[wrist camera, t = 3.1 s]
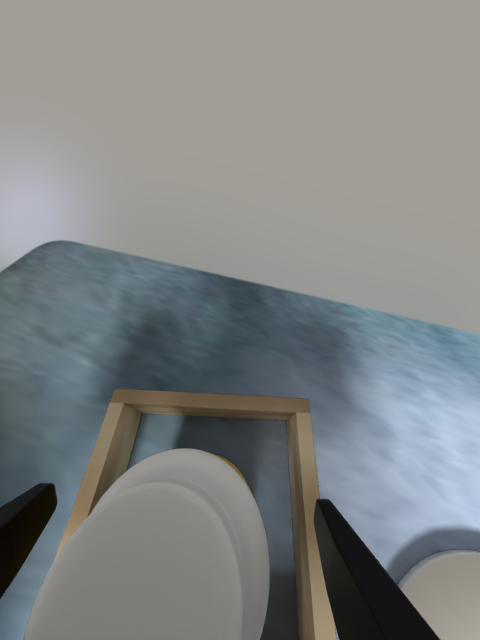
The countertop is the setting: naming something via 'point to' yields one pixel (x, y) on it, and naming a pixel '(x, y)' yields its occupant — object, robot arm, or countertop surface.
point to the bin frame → (130, 404)
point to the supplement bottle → (162, 559)
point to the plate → (447, 593)
